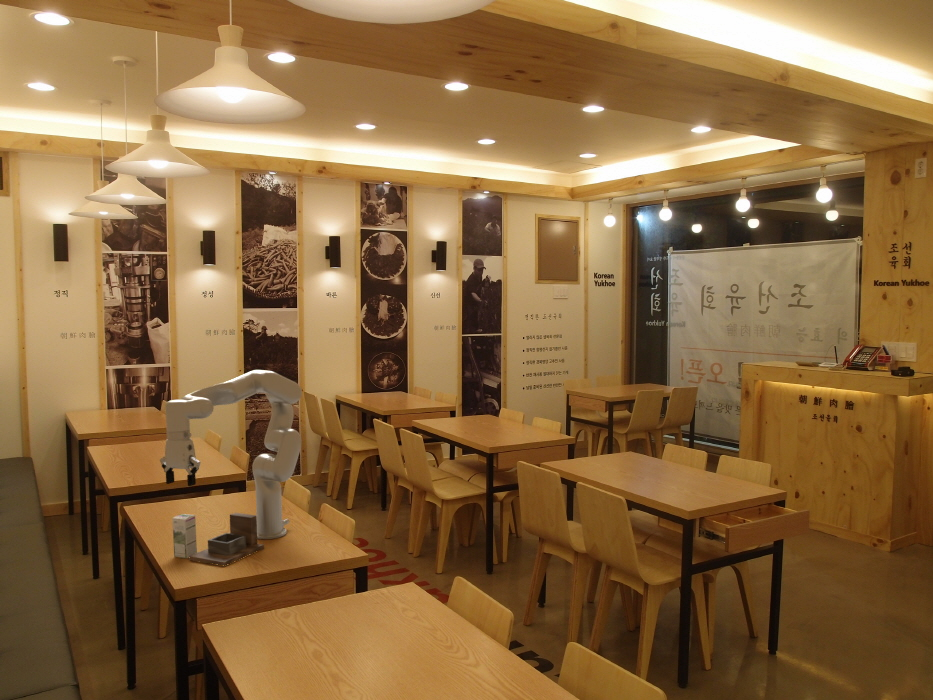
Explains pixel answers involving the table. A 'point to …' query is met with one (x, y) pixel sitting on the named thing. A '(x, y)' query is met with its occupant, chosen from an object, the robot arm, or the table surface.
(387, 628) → the table surface
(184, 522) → the syrup box
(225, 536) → the post bracket stand
